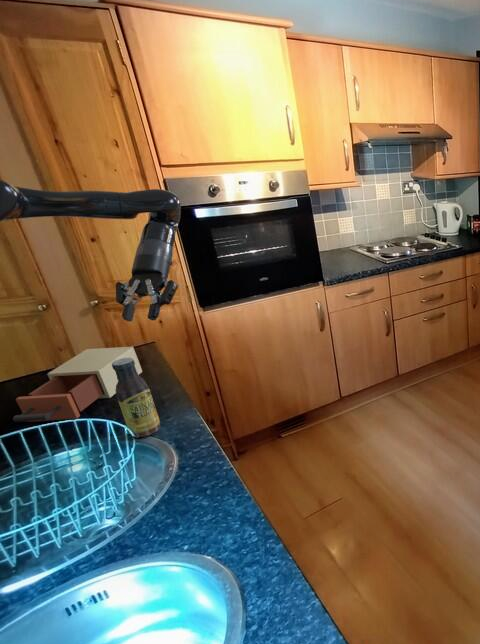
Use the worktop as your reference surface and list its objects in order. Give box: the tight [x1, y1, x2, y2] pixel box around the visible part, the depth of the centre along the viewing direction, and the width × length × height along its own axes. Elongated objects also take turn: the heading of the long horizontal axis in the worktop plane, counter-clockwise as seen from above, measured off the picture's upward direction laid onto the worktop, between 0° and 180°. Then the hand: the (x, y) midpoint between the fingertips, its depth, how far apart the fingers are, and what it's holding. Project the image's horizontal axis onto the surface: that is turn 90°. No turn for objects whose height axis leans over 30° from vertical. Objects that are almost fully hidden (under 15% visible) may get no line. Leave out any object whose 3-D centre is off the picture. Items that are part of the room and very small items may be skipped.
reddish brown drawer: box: [12, 374, 104, 423], centre depth 118 cm, size 19×12×7 cm, turn 7°
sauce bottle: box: [112, 358, 161, 439], centre depth 109 cm, size 7×6×20 cm
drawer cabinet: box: [46, 346, 143, 400], centre depth 131 cm, size 15×13×9 cm
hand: (139, 319), depth 113 cm, fingers open, 5 cm apart
